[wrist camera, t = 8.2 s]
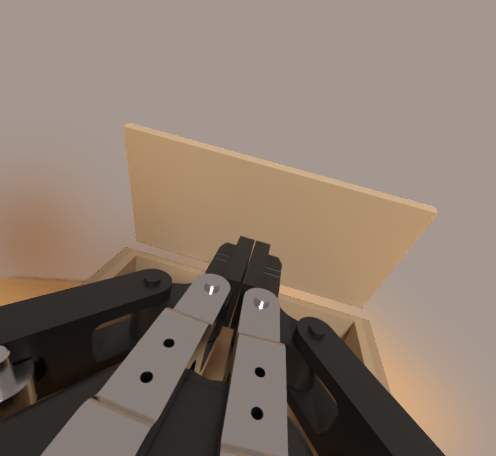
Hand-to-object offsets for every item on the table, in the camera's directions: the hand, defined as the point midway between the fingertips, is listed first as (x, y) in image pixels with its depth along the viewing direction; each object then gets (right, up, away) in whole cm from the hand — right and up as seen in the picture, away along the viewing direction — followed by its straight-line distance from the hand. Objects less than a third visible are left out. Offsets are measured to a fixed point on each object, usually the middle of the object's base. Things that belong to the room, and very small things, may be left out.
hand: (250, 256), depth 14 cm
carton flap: (+1, +1, +4) cm, 5 cm away
